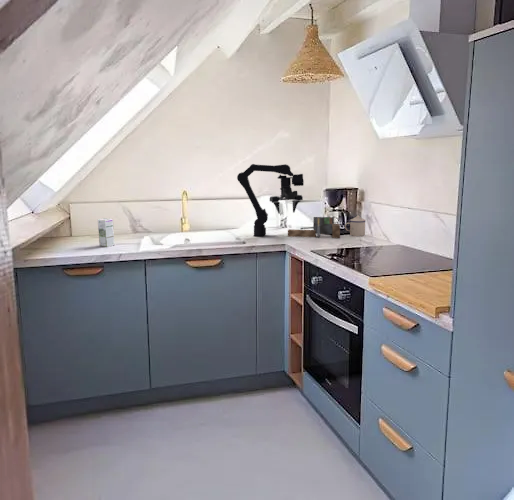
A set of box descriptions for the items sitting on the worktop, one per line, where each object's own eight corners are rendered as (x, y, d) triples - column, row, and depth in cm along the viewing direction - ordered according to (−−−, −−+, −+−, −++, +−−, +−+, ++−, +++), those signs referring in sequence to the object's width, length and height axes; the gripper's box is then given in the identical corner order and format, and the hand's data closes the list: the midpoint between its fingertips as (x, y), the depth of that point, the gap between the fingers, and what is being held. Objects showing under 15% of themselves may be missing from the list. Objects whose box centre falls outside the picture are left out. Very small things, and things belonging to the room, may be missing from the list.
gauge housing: (313, 237, 287) (313, 220, 285) (313, 233, 304) (313, 217, 302) (339, 238, 285) (340, 220, 284) (338, 233, 302) (338, 217, 300)
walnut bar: (287, 237, 292) (287, 230, 292) (288, 236, 296) (288, 229, 296) (315, 237, 289) (315, 230, 289) (315, 236, 293) (315, 230, 292)
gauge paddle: (317, 236, 288) (317, 221, 286) (317, 233, 302) (317, 218, 300) (319, 236, 288) (319, 221, 286) (319, 233, 302) (319, 218, 300)
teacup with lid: (365, 234, 299) (365, 214, 297) (365, 236, 290) (365, 216, 288) (344, 233, 302) (345, 214, 299) (344, 236, 293) (344, 216, 291)
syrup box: (115, 245, 268) (113, 218, 265) (106, 247, 263) (104, 219, 260) (107, 244, 270) (105, 217, 268) (99, 246, 265) (97, 219, 263)
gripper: (275, 187, 281) (276, 215, 283) (306, 186, 286) (306, 213, 289) (268, 186, 291) (269, 213, 294) (298, 185, 296) (299, 211, 299)
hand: (286, 213), depth 294 cm, fingers open, 9 cm apart
